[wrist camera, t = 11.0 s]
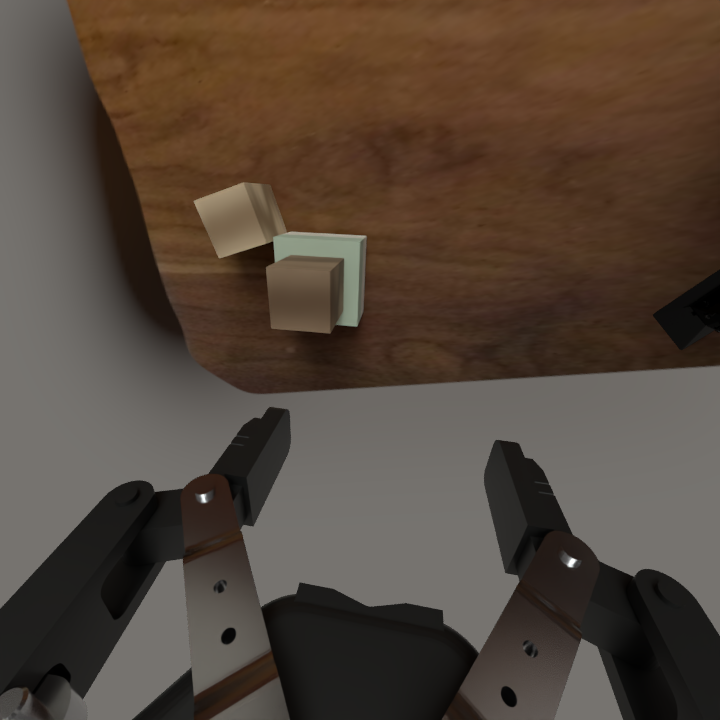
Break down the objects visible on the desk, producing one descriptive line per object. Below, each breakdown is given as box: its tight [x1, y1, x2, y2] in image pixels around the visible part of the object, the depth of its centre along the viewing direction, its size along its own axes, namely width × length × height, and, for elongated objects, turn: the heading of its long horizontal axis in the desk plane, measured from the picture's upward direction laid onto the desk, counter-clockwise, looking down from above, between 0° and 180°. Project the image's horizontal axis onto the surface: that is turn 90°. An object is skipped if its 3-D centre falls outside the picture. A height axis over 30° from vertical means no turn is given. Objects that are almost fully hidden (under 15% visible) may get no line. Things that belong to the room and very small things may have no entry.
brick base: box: [273, 232, 367, 327], centre depth 34 cm, size 8×8×5 cm
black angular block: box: [653, 270, 720, 350], centre depth 30 cm, size 12×7×5 cm, turn 138°
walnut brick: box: [266, 255, 344, 333], centre depth 29 cm, size 5×5×6 cm
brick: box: [194, 183, 287, 258], centre depth 32 cm, size 5×5×6 cm
